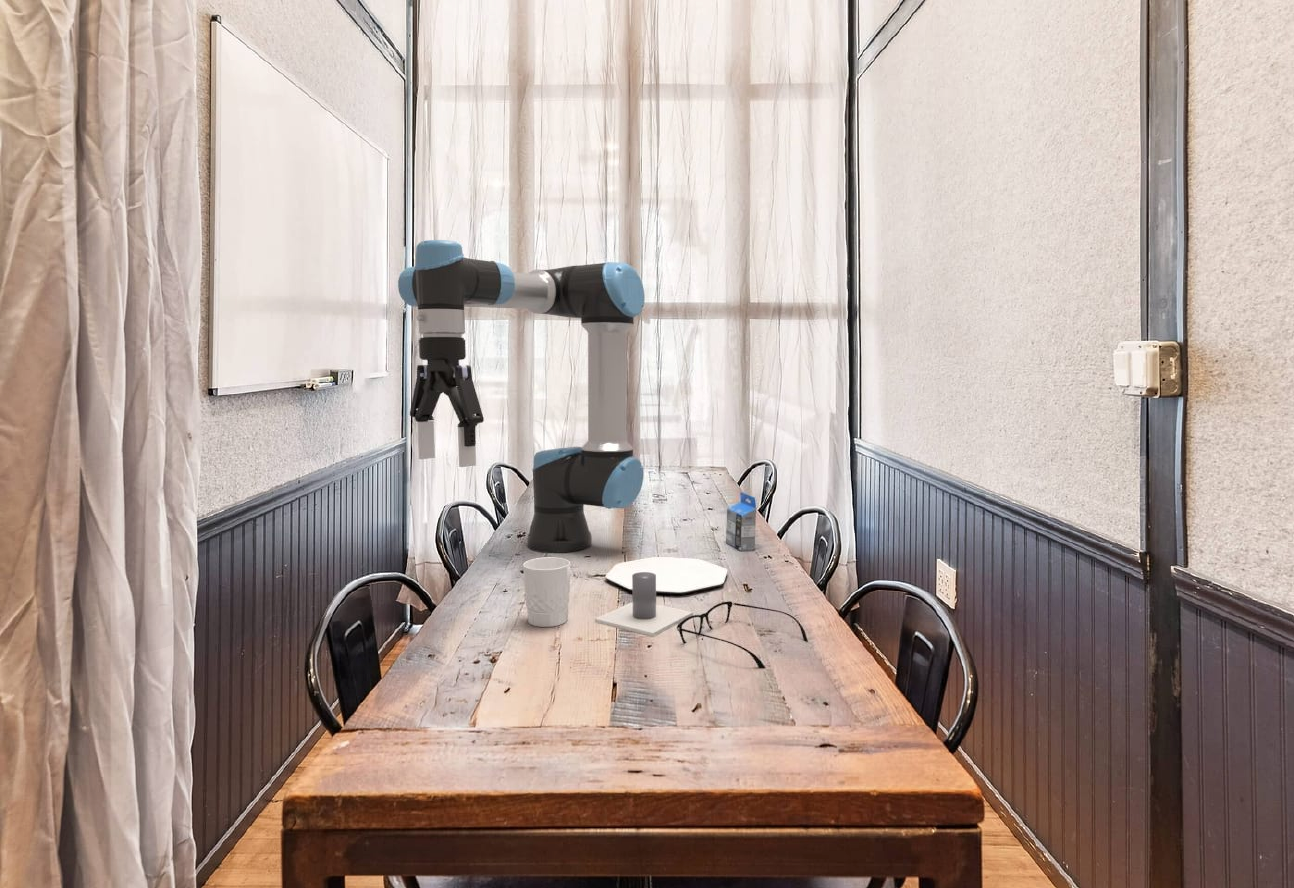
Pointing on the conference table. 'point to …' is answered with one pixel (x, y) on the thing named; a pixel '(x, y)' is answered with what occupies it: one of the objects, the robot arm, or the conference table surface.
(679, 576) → the plate
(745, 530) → the label tape box
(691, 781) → the conference table surface
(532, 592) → the white cup
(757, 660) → the eyeglasses
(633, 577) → the lid
